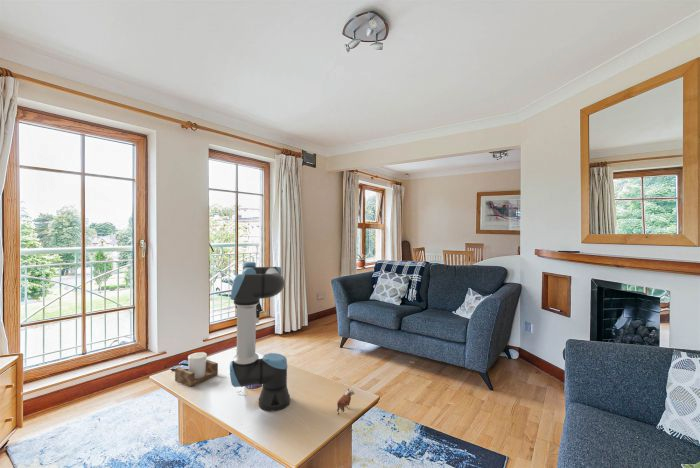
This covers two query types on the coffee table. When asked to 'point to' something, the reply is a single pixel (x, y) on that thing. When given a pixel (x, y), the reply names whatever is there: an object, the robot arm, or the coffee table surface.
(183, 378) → the wooden tray
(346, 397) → the bull figurine
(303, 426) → the coffee table surface
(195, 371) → the candle holder
